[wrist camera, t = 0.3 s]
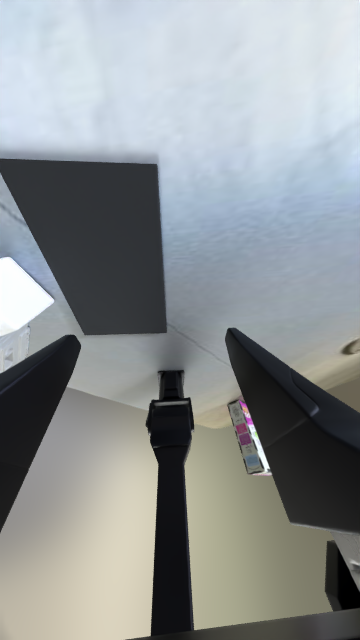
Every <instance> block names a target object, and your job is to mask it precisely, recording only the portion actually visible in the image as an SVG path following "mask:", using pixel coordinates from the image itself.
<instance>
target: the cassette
mask: <svg viewBox="0 0 360 640" xmlns="http://www.w3.org/2000/svg"><path fill="white" fill-rule="evenodd" d="M29 333H30V328H29V327H28V323H27V324H25V325H24V326H23V327H21V328H20V329H19V330H16V331H14V332H11V333H8V334H6V335H3V336H0V373H2V372H4V371H5V370H7V369H9V368H11V367H12V366H14V365H16V364H17V363H19V362H21V361H22V360H24V359H25V356H26V355H28V345H29Z"/></svg>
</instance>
